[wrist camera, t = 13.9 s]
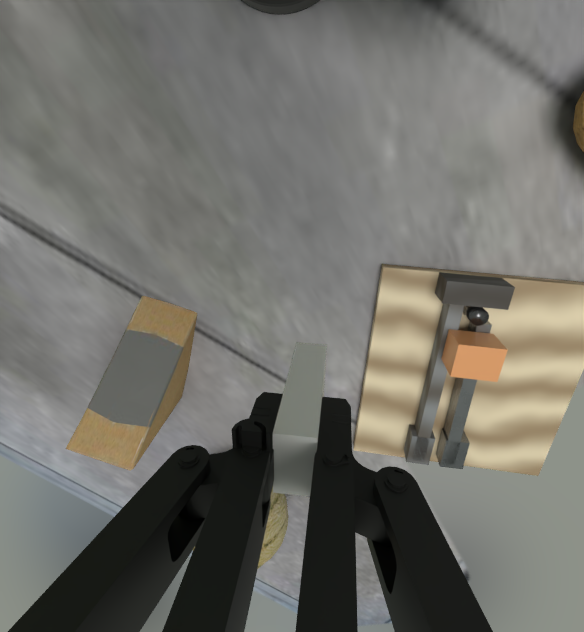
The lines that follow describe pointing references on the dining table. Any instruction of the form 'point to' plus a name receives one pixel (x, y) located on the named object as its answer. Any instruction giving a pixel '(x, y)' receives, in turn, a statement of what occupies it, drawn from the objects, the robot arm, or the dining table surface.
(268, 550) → the cantaloupe
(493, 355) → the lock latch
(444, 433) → the upper tong arm
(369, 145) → the dining table surface
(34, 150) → the dining table surface
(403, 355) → the tongs board
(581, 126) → the potato
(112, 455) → the sandwich container
